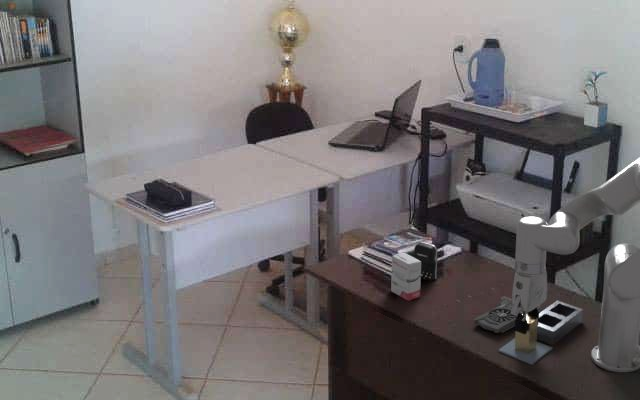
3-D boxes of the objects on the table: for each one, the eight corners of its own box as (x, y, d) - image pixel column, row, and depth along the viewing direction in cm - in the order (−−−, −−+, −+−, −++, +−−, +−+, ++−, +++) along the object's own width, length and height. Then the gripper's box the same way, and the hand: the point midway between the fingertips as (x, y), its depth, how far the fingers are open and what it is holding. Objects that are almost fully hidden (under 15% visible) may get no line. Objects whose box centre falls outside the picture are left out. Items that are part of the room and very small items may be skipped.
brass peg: (536, 348, 228) (537, 317, 225) (528, 354, 225) (529, 323, 222) (522, 343, 230) (524, 313, 227) (514, 349, 228) (516, 318, 224)
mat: (552, 349, 228) (552, 347, 228) (531, 364, 221) (532, 363, 221) (518, 336, 234) (519, 335, 234) (498, 351, 228) (498, 349, 228)
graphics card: (503, 293, 251) (537, 307, 243) (503, 305, 253) (537, 319, 244) (464, 313, 242) (498, 328, 233) (464, 325, 243) (498, 340, 234)
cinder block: (582, 322, 241) (583, 309, 239) (552, 344, 230) (553, 331, 228) (556, 313, 246) (557, 300, 244) (526, 334, 235) (526, 322, 234)
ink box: (421, 296, 258) (422, 260, 254) (408, 301, 255) (408, 265, 251) (403, 286, 265) (403, 250, 260) (390, 291, 262) (390, 255, 258)
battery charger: (412, 277, 270) (412, 244, 266) (418, 273, 273) (419, 239, 269) (431, 283, 266) (431, 249, 262) (437, 278, 269) (438, 245, 264)
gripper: (525, 280, 211) (521, 345, 217) (560, 257, 222) (556, 320, 229) (498, 272, 216) (496, 336, 222) (534, 250, 227) (531, 311, 234)
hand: (526, 327), depth 225 cm, fingers open, 5 cm apart
